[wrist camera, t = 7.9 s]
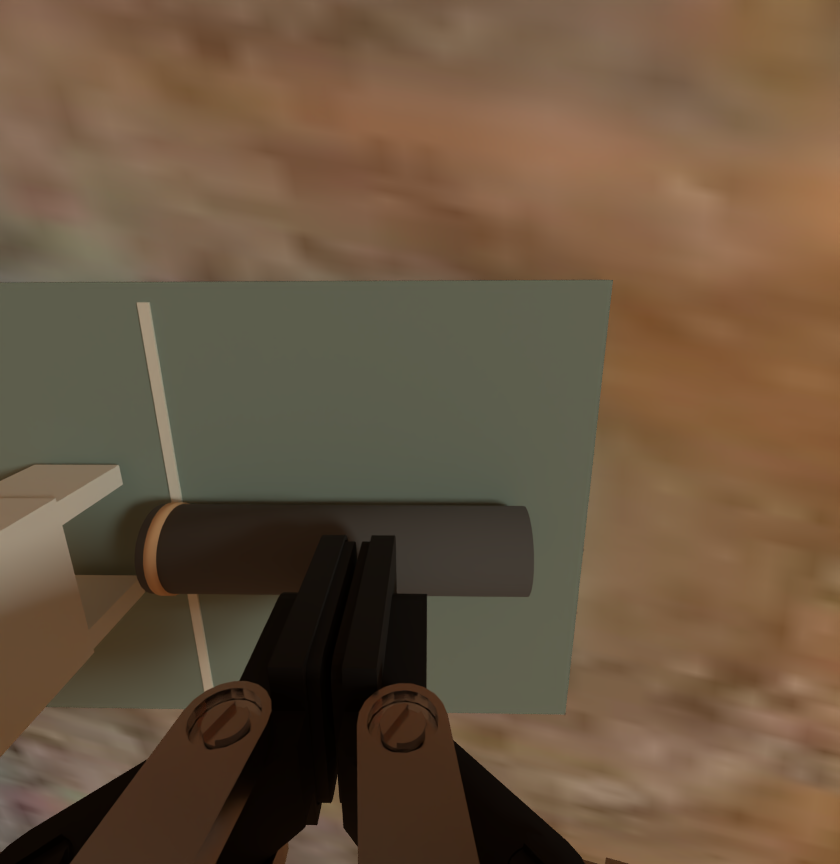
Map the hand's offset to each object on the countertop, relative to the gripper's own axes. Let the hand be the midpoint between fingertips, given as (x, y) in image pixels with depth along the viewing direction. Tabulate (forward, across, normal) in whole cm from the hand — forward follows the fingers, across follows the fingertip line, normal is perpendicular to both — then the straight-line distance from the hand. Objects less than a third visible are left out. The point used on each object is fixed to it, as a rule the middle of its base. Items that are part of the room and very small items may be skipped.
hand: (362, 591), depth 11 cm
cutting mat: (+4, +4, 0) cm, 6 cm away
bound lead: (+3, +1, 0) cm, 4 cm away
